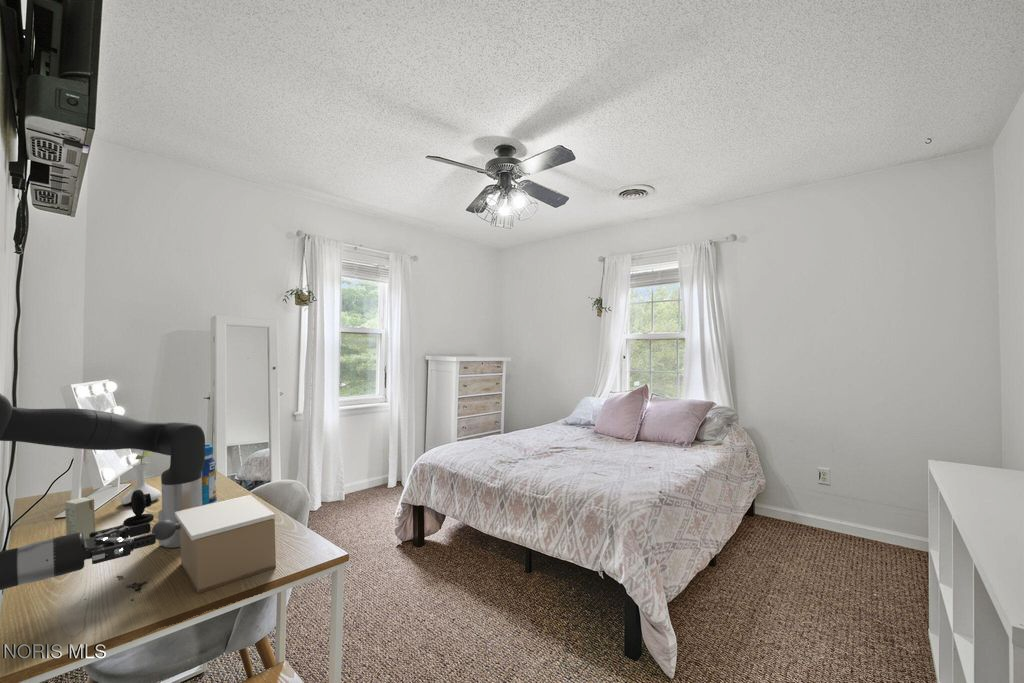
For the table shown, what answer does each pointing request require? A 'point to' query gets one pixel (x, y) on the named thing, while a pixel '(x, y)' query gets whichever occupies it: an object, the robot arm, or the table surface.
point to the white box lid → (215, 518)
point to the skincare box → (80, 516)
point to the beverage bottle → (209, 478)
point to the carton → (228, 555)
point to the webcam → (139, 509)
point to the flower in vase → (141, 481)
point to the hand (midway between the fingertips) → (152, 532)
